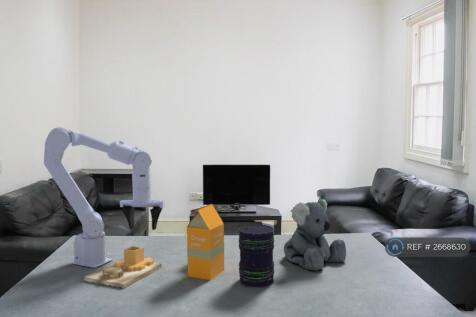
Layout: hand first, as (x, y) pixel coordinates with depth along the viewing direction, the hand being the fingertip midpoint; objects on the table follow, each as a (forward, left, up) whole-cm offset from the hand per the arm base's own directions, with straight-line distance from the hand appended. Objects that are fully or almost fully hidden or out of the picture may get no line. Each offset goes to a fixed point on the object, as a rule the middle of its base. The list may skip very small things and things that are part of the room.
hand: (143, 228), depth 147 cm
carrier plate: (+4, -15, -9) cm, 18 cm away
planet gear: (+4, -10, -8) cm, 14 cm away
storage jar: (+42, -5, -10) cm, 43 cm away
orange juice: (+26, -5, -10) cm, 28 cm away
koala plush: (+51, +18, -10) cm, 55 cm away
